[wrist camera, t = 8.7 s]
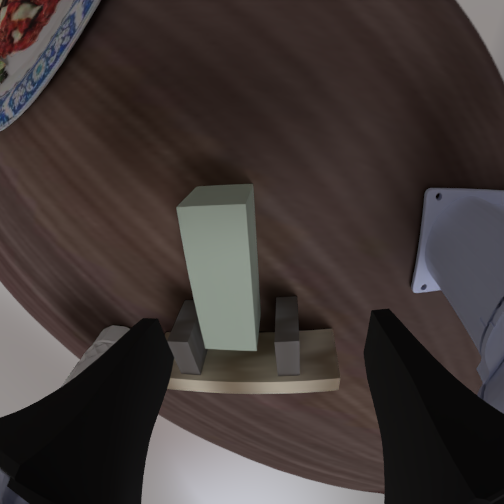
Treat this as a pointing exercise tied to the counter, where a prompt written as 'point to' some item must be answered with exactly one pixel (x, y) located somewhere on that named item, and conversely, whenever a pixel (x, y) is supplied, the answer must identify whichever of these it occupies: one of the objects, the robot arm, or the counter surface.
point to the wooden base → (254, 357)
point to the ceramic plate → (35, 47)
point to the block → (223, 264)
